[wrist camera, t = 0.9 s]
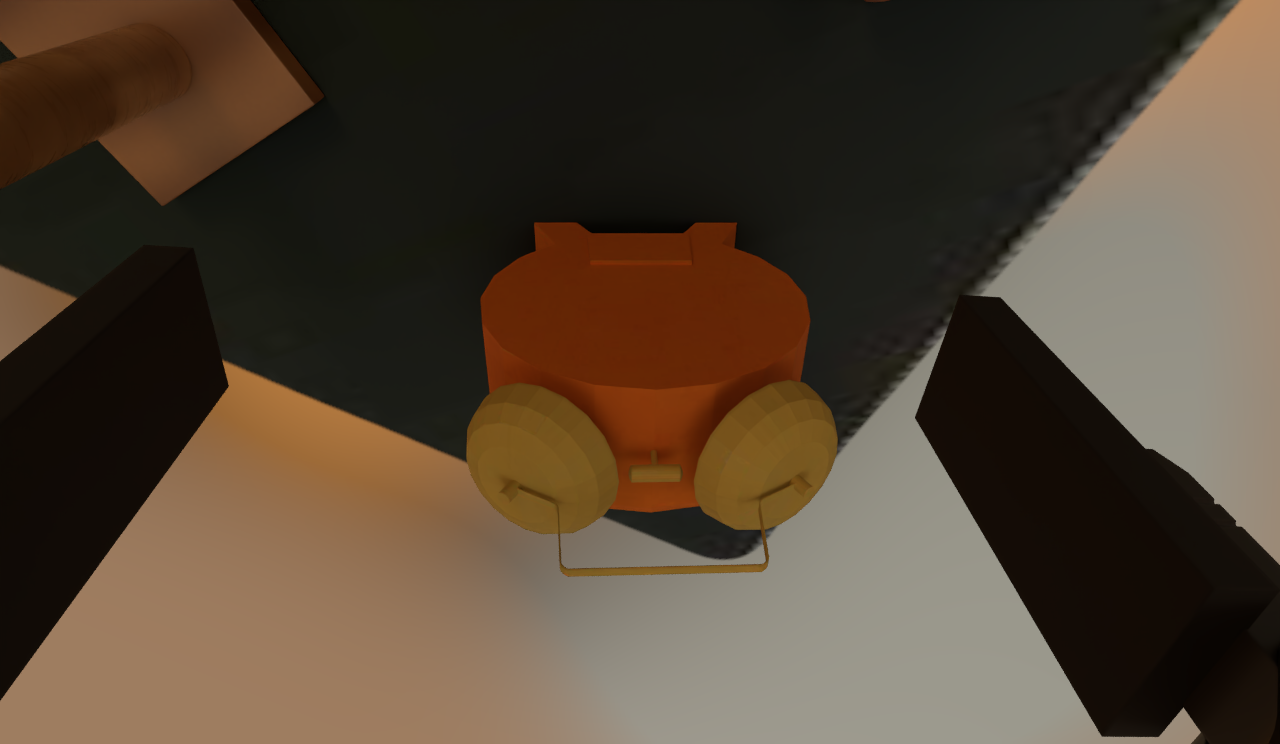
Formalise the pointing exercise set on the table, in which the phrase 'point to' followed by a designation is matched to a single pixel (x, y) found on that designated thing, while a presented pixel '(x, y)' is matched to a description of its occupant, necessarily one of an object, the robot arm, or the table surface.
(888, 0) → the pottery mug
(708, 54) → the table surface
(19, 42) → the stand
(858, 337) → the table surface
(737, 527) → the alarm clock
